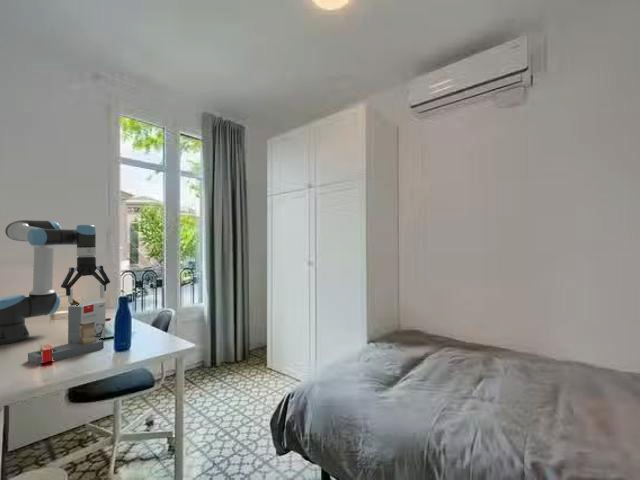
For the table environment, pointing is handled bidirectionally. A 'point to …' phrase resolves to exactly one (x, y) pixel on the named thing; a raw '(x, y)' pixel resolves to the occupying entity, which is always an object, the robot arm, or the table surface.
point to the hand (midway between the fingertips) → (86, 300)
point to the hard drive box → (86, 319)
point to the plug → (87, 332)
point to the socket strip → (66, 351)
